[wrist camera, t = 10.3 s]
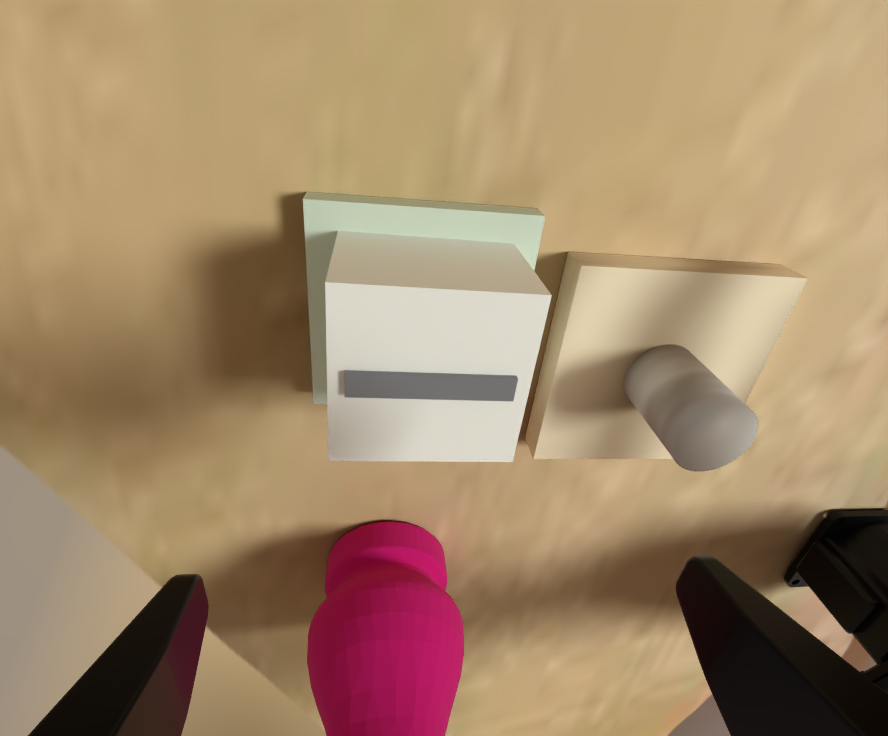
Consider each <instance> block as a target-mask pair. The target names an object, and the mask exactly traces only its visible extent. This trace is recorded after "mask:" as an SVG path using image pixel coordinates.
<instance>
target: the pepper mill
mask: <svg viewBox="0 0 888 736" xmlns="http://www.w3.org/2000/svg"><path fill="white" fill-rule="evenodd" d="M446 585H447V573H446V565H445V557H444V551H443V548H442V546H441V544H440V542H439V541H438V540H437V539H436V537H435V536H433V535H432V534H430V533H429V532H428V531H426V530H425V529H423V528H421V527H418V526H415V525H412V524H409V523H403V522H395V521H388V522H376V523H372V524H368V525H364V526H360V527H358V528H356V529H354V530H352V531H350V532H349V533H347V534H345V535H344V536H343V537H342V538H341V539H339V540H338V541H337V542H336V543H335V545H334V546H333V548H332V549H331V551H330V554H329V556H328V562H327V571H326V580H325V593H326V596H327V599H326V600H325V601H324V602H323V603H322V604H321V605H320V606H319V608H318V610H317V611H316V613H315V615H314V617H313V619H312V621H311V624H310V628H309V633H308V652H307V664H308V670H309V677H310V683H311V688H312V691H313V695H314V698H315V702H316V705H317V708H318V711H319V714H320V717H321V719H322V722H323V725H324V728H325V731H326V735H327V736H445V734H446V729H447V725H448V721H449V717H450V713H451V709H452V706H453V702H454V698H455V695H456V691H457V688H458V684H459V680H460V677H461V670H462V663H463V656H464V635H463V622H462V618H461V614H460V611H459V609H458V607H457V605H456V604H455V602H454V601H453V599H452V598H451V597H450V596H449V595H448V594H447V593H446V592H445V590H446Z"/></svg>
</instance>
